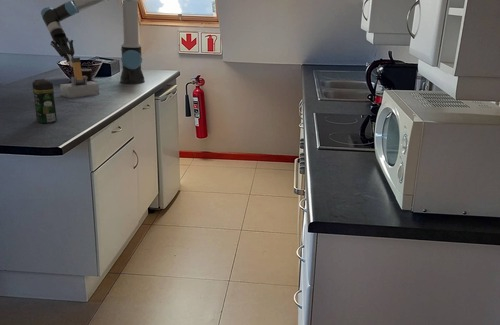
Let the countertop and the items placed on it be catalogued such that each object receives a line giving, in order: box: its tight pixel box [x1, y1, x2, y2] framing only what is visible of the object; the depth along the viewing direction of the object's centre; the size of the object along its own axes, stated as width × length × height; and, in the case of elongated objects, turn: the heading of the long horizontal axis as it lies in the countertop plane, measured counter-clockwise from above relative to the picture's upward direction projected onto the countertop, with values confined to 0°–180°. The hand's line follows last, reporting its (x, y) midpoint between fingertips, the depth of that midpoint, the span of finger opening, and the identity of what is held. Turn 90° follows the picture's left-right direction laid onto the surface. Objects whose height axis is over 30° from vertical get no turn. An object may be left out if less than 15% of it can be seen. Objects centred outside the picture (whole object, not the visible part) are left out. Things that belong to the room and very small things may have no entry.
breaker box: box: [59, 76, 100, 99], centre depth 273 cm, size 9×18×10 cm, turn 135°
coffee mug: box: [69, 68, 93, 81], centre depth 295 cm, size 12×9×10 cm
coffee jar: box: [32, 78, 58, 124], centre depth 217 cm, size 10×8×19 cm
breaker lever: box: [71, 57, 84, 84], centre depth 271 cm, size 2×4×14 cm, turn 135°
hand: (73, 65), depth 273 cm, fingers closed
